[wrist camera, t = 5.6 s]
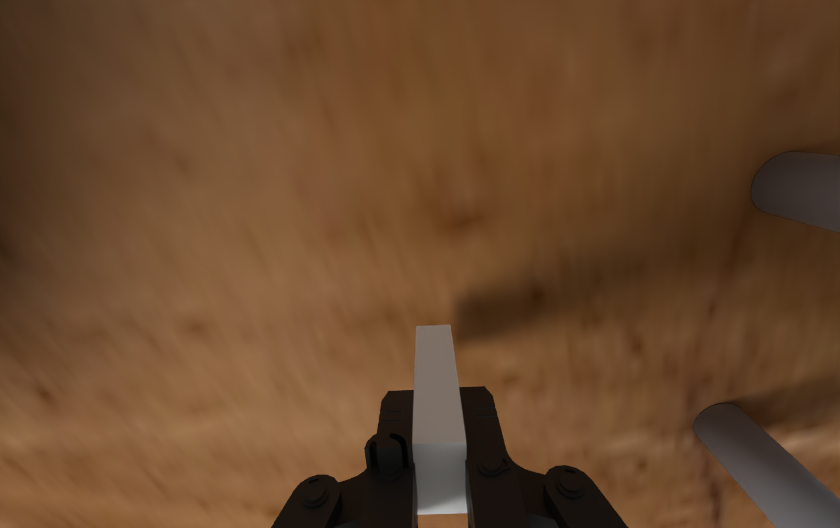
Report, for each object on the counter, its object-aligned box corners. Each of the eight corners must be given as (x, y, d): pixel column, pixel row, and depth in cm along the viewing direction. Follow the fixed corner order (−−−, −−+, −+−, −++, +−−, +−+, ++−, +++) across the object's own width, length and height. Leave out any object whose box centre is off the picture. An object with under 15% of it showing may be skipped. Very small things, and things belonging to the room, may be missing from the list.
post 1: (689, 442, 21) (864, 655, 13) (698, 404, 20) (893, 605, 12) (737, 441, 21) (945, 653, 13) (749, 402, 20) (981, 603, 12)
